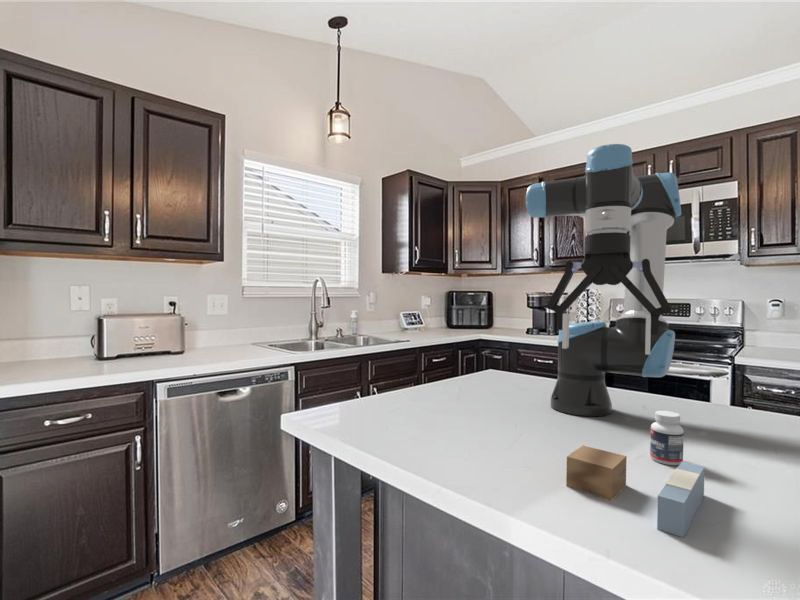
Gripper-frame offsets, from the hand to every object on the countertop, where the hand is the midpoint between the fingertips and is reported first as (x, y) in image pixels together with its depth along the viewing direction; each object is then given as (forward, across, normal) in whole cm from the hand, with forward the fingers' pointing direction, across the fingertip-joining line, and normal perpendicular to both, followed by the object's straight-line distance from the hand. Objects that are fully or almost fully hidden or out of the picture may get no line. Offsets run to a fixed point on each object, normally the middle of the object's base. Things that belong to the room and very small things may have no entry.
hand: (604, 350), depth 80 cm
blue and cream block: (+21, +12, -12) cm, 27 cm away
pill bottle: (+21, +10, +8) cm, 25 cm away
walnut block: (+21, 0, -10) cm, 23 cm away
